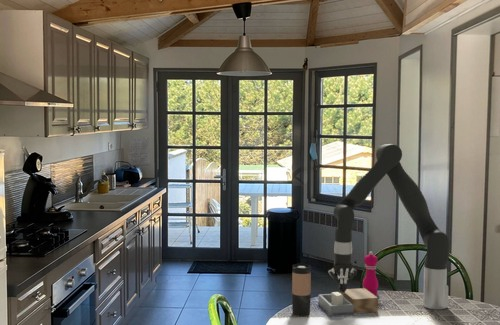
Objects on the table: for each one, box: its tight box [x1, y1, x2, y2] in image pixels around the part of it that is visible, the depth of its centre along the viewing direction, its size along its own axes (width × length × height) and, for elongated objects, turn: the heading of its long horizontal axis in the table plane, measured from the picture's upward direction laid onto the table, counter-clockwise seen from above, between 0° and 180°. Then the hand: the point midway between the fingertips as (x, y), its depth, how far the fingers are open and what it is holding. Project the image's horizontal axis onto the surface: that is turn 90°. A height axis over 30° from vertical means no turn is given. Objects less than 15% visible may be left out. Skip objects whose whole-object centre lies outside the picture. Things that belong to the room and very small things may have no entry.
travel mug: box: [291, 263, 312, 317], centre depth 231 cm, size 8×8×20 cm
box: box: [317, 293, 355, 317], centre depth 238 cm, size 10×16×4 cm, turn 11°
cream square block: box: [331, 291, 343, 305], centre depth 239 cm, size 5×5×3 cm
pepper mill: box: [362, 251, 379, 296], centre depth 258 cm, size 7×7×20 cm
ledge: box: [340, 287, 379, 314], centre depth 240 cm, size 11×14×6 cm
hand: (342, 291), depth 238 cm, fingers closed
